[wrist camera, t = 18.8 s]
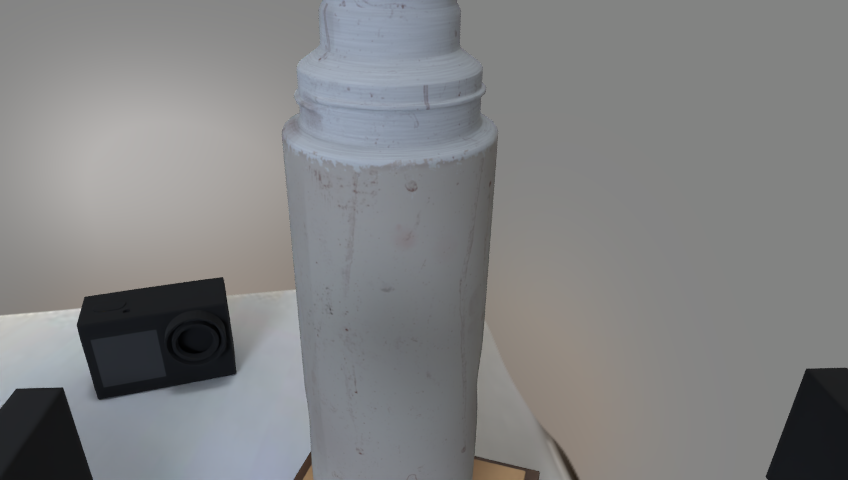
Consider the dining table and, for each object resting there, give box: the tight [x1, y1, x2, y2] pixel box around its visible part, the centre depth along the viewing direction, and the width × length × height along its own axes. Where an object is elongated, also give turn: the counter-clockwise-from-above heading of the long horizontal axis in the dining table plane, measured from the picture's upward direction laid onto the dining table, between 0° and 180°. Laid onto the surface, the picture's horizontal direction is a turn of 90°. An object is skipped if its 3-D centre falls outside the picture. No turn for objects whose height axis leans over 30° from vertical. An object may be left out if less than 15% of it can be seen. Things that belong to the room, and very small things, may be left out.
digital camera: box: [77, 277, 236, 399], centre depth 48 cm, size 10×5×7 cm, turn 109°
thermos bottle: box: [282, 0, 498, 480], centre depth 27 cm, size 8×8×28 cm
